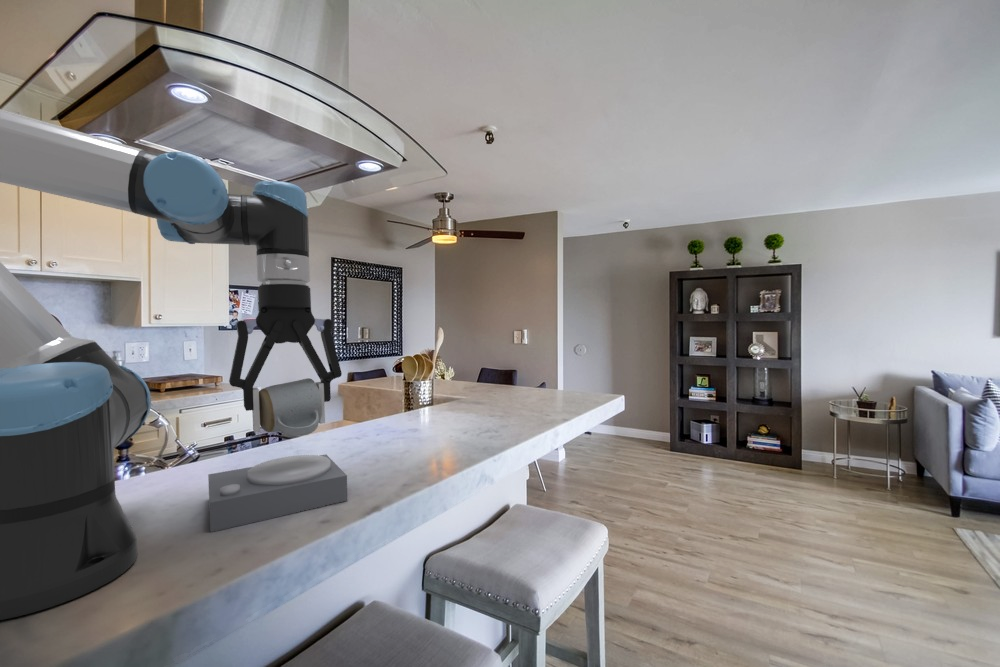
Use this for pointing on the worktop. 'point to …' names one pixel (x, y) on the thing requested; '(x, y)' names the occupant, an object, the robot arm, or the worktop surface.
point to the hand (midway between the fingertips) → (289, 426)
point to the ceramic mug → (291, 407)
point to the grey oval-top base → (274, 490)
